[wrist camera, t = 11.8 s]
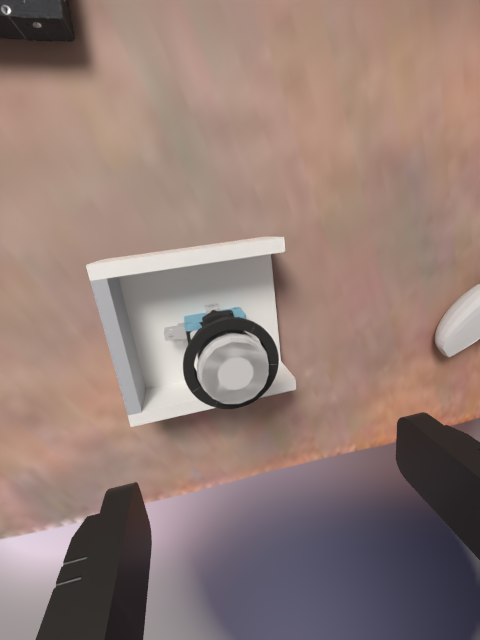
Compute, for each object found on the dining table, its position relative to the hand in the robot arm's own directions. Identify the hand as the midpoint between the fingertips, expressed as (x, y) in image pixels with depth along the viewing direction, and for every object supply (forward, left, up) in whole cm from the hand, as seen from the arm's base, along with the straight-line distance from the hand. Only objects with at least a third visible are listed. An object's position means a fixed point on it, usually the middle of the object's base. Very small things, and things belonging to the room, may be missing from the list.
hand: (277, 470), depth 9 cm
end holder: (+1, 0, -18) cm, 18 cm away
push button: (+1, 0, -17) cm, 17 cm away
